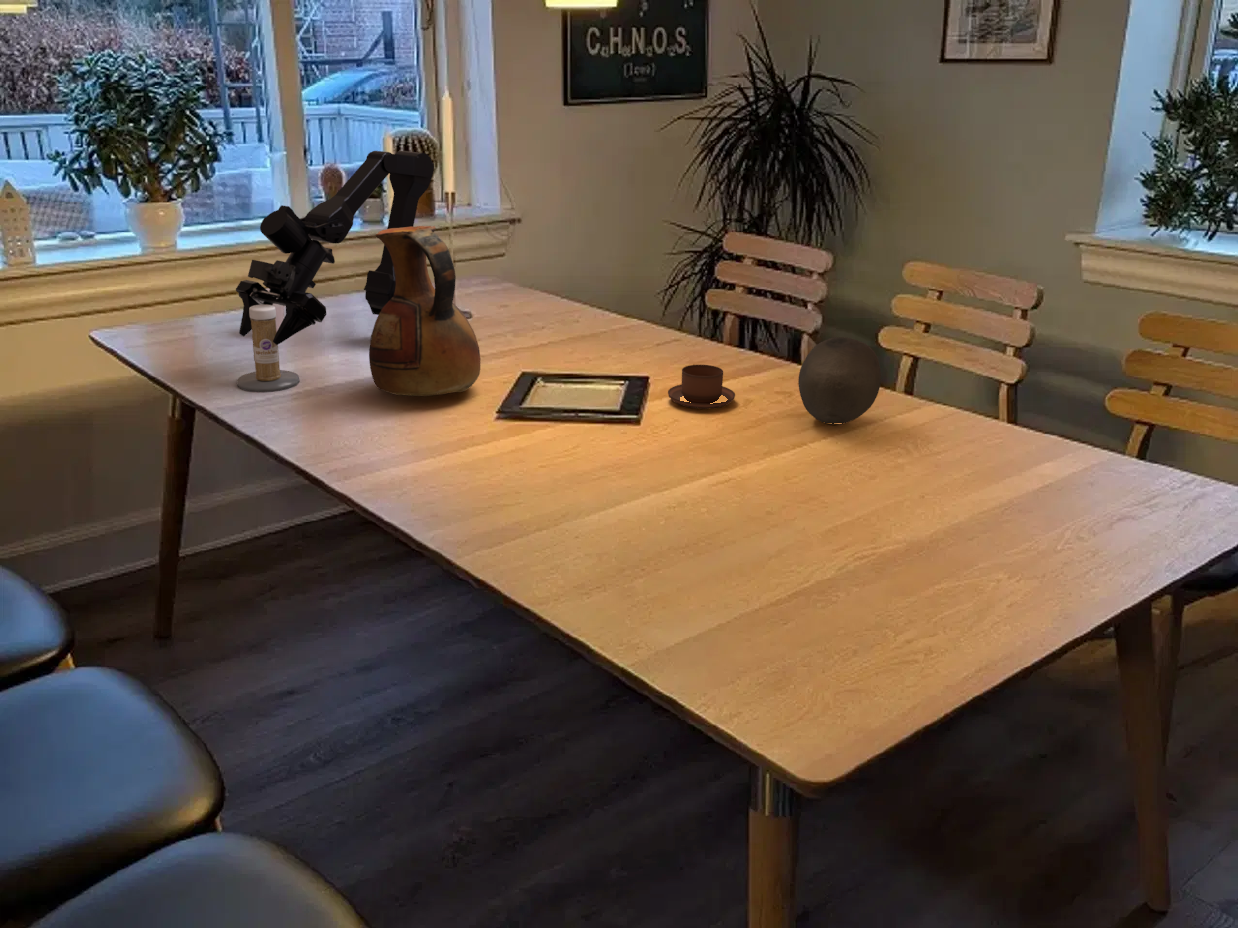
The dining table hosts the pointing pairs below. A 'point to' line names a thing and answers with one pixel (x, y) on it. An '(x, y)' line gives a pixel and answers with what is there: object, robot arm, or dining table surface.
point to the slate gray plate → (268, 382)
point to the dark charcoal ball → (839, 380)
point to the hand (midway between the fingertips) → (257, 339)
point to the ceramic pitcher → (422, 322)
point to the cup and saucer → (701, 387)
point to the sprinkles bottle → (265, 342)
